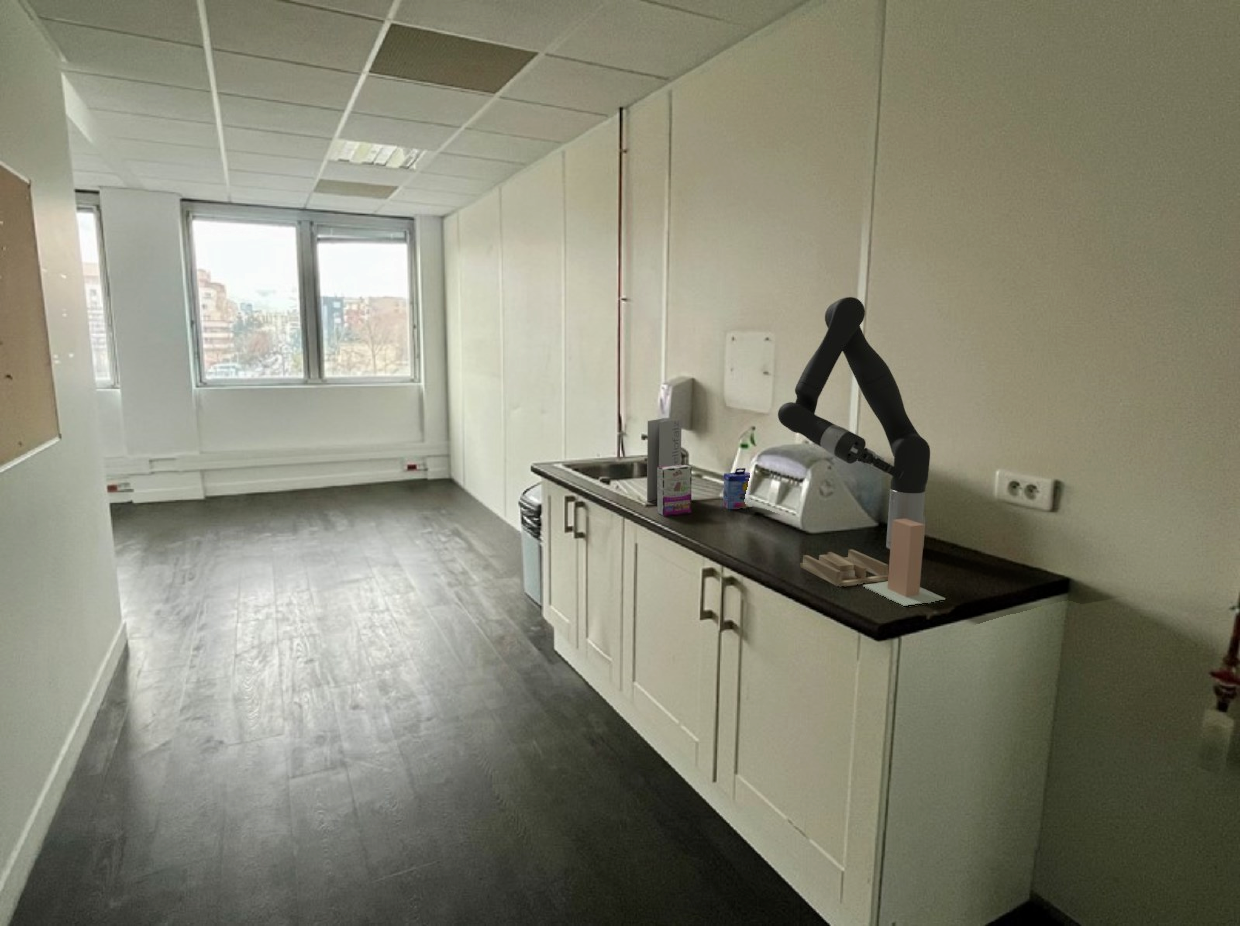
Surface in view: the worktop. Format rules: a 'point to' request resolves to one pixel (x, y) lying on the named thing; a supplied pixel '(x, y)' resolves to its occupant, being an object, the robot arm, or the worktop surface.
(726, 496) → the ink cartridge box
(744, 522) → the worktop surface
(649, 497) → the grey lettered box
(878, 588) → the sage mat
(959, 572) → the worktop surface
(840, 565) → the plywood offcut stack
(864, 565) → the birch rack
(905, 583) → the peach upright pillar
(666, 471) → the candy bar box
